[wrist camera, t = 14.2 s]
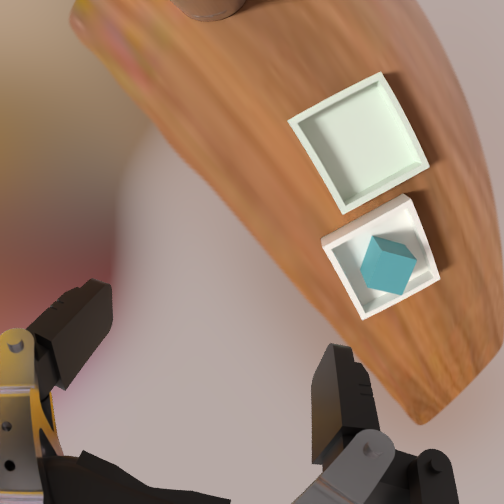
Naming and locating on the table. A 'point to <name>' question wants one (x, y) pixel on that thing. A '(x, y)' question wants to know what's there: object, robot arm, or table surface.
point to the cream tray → (357, 241)
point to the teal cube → (387, 266)
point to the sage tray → (360, 142)
